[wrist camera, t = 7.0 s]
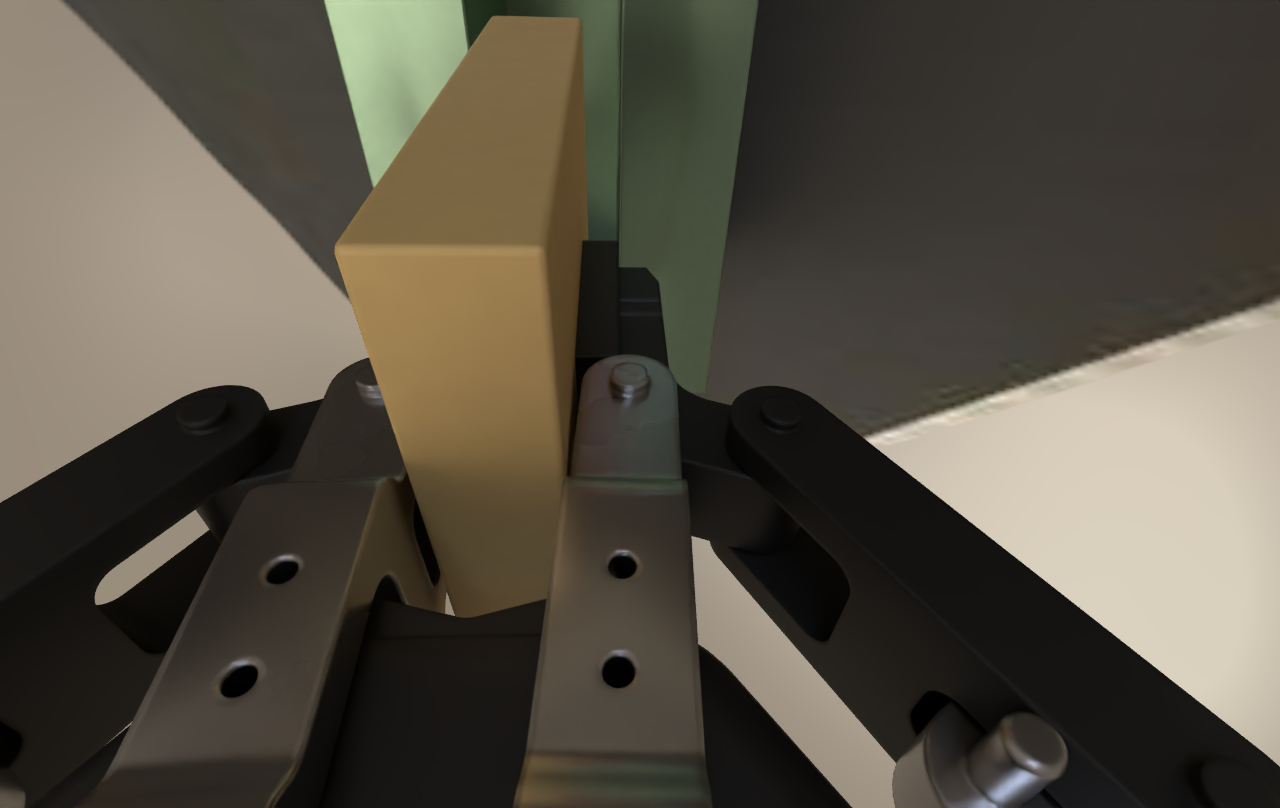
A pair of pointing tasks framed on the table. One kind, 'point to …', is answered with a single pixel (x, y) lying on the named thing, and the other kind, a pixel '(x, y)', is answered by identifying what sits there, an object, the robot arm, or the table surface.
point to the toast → (483, 305)
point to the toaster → (594, 124)
